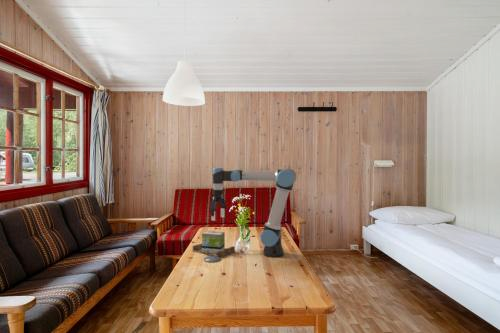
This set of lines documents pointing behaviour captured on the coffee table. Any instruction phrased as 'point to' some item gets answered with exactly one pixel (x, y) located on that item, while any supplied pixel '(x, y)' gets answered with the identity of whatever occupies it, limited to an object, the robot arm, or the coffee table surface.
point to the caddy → (218, 254)
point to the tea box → (213, 241)
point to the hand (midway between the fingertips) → (218, 218)
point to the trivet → (212, 259)
